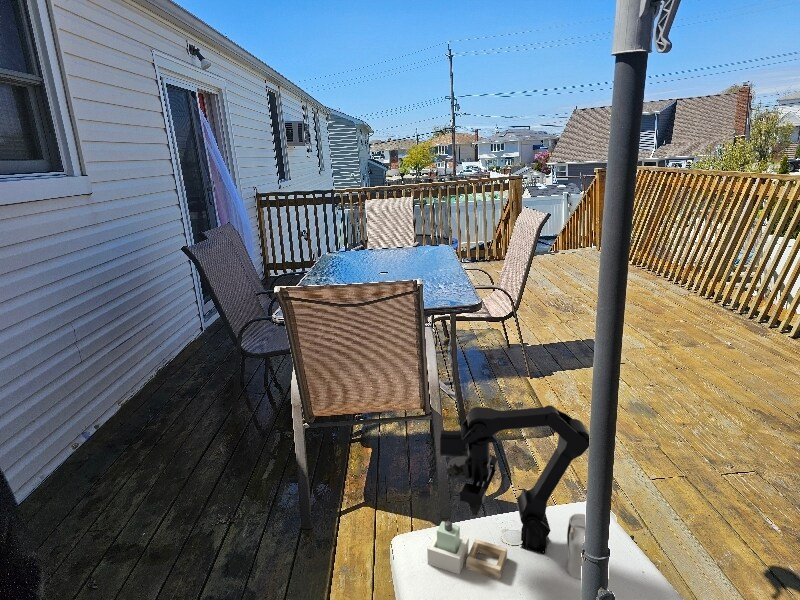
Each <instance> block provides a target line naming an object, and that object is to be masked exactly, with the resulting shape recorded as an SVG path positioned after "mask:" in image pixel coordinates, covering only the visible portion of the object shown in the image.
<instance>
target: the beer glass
mask: <svg viewBox="0 0 800 600" xmlns="http://www.w3.org/2000/svg"><path fill="white" fill-rule="evenodd" d="M585 515H586V514H585V513H574V514H572V515H571V516H569V519H568V525H567V531H566V542H567V544H566V545H567V549H568V550H567V551H568V559H567V562H566V565H565V566H566V567H565V569H566V572H567V573H568V574H569V575H570V576H571V577H573V578H575V579H578V580H582V579H581V566H582V557H581V553H582V544H583V542H584V536H585Z"/></svg>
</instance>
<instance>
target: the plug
mask: <svg viewBox="0 0 800 600" xmlns="http://www.w3.org/2000/svg"><path fill="white" fill-rule="evenodd" d="M437 529H438V530H436V531H437V548H438V549H442V550H445V551H448V552H451V553H454V554H457V552H458V550H459V548H460V536H461V534H460V533H461V532H460V531H461V527H460V525H457V524H453V522H451V521H450V520H447V521H443V520H442V521H441V523H440V525H439V526H438V528H437Z"/></svg>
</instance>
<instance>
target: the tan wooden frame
mask: <svg viewBox="0 0 800 600" xmlns="http://www.w3.org/2000/svg"><path fill="white" fill-rule="evenodd" d="M478 551H479V552H481V553H480V554H483V555H486V556H489V557H493V558H495V559H498V560H497V563H496V564H494V563H491V562H488V561H484V560H481V559H477V556H478V553H479V552H478ZM477 552H478V553H477ZM476 555H477V556H476ZM507 558H508V548H507V547H503V546H501V545H498V544H497V545H496V544H494V543H490V542H487V541H483V540H481V539H476V538H475V539H474V541H473V543H472V545H471V547H470V550H469V551H468V555H467V558H466V560H465V562H466V570H469V571H471V572H476V573H478V574H481V575H485V576H487V577H491V578H494V579H497V580H501V577H502V573H503V570H504V568H505V564H506V562H507Z"/></svg>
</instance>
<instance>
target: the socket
mask: <svg viewBox="0 0 800 600" xmlns="http://www.w3.org/2000/svg"><path fill="white" fill-rule="evenodd" d="M437 530H438V528H437ZM437 530H436V532H435V534H434V535H433V538H432V539H431V541H430V543H429V545H428V547H427V554H426V555H427V565H430V566H433V567H436V568H439V569H442V570H444V571H448V572H451V573H454V574H457V575H460V574H461V571H462V569H463V566H464V564H465V562H466V560H465V559H467V558H466V557H468V555H469V552H470V550H469V543H470V541H469V540H470V538H469V537H467V536H464V535H460V548H459V550H458V552H457V554H454V553H451V552H448V551H445V550H442V549H438V548H437Z"/></svg>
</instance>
